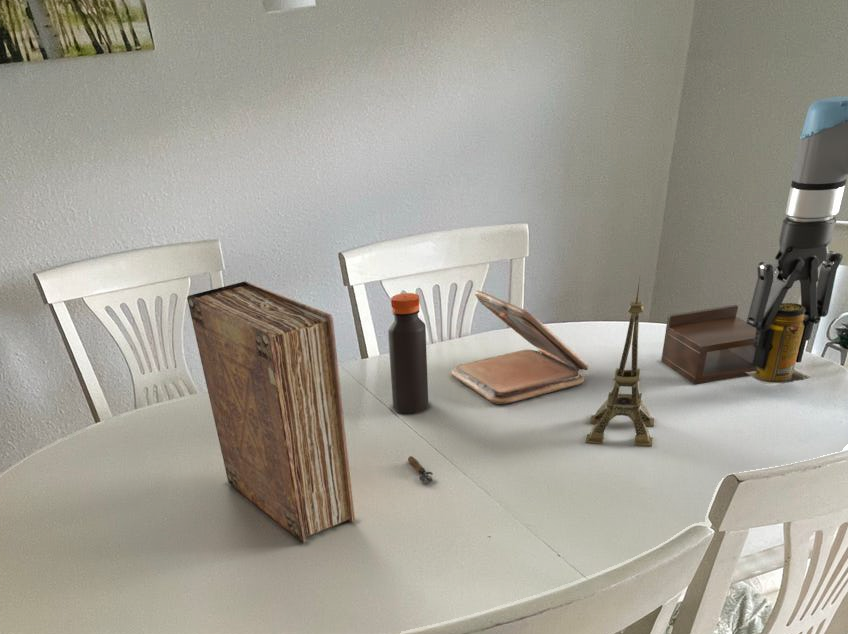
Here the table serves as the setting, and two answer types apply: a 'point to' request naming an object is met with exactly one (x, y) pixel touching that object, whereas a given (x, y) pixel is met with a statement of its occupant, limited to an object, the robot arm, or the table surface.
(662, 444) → the table surface
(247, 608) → the table surface
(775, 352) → the condiment
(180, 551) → the table surface
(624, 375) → the eiffel tower
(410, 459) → the can opener
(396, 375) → the vinegar
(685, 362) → the box
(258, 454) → the book
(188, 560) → the table surface
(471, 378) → the case
